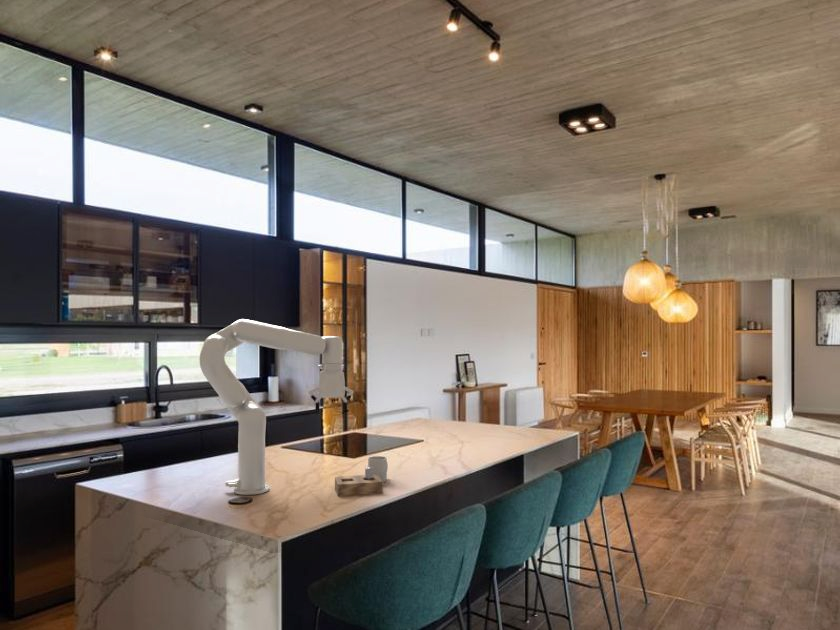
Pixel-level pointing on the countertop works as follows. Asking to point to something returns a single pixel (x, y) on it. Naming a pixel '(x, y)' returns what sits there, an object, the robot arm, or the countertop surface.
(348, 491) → the bore block
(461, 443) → the countertop surface
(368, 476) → the dowel
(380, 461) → the cup
